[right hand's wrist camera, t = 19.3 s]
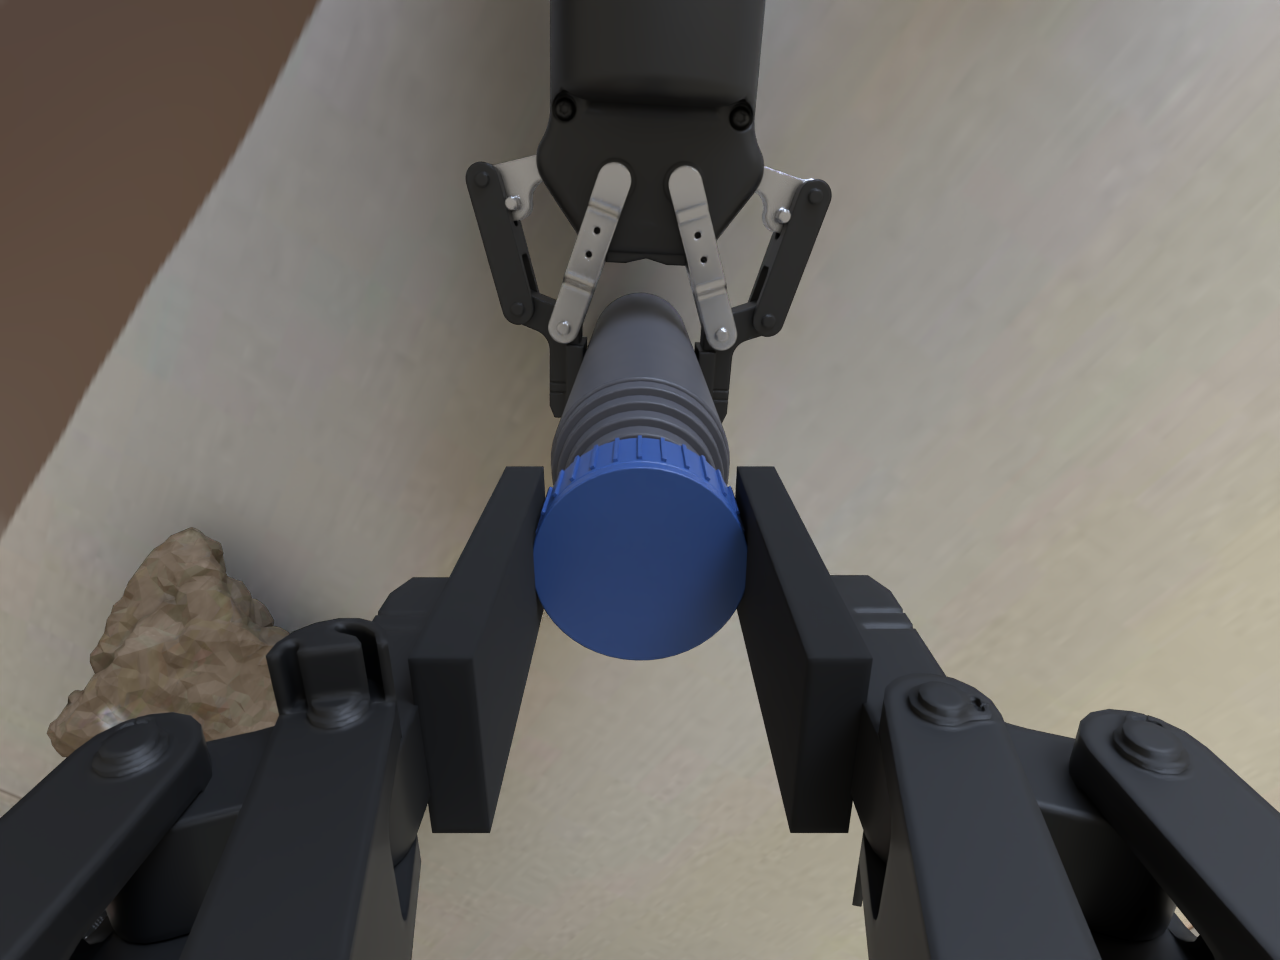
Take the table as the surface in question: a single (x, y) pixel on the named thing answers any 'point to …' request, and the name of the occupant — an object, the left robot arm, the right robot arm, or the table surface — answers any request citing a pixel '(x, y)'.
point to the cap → (640, 550)
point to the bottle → (640, 387)
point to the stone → (178, 650)
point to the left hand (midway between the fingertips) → (638, 427)
